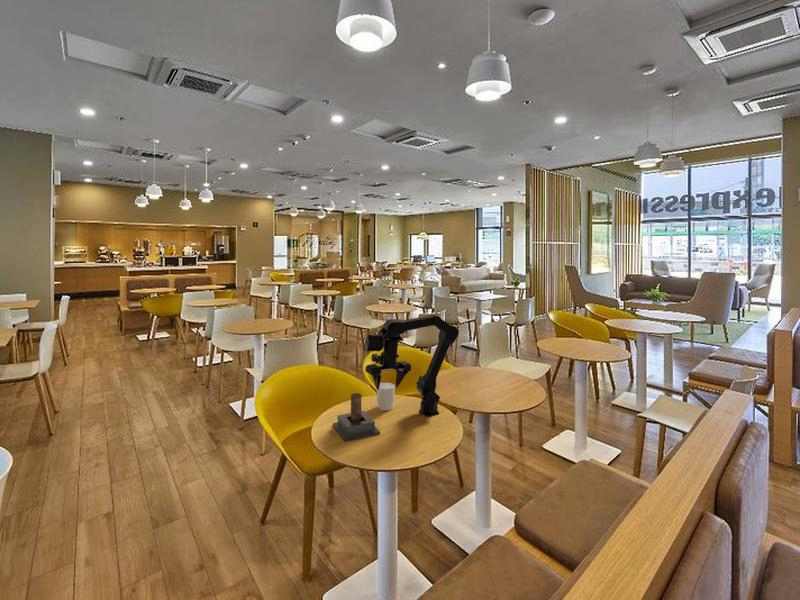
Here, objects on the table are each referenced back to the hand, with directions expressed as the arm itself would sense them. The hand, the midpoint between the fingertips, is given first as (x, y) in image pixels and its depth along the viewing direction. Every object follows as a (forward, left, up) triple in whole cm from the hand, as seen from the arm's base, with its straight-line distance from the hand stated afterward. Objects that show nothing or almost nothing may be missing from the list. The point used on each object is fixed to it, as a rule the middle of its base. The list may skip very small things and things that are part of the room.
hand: (387, 388), depth 168 cm
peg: (+15, +5, -12) cm, 20 cm away
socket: (+15, +5, -13) cm, 20 cm away
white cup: (-4, -9, -13) cm, 16 cm away
